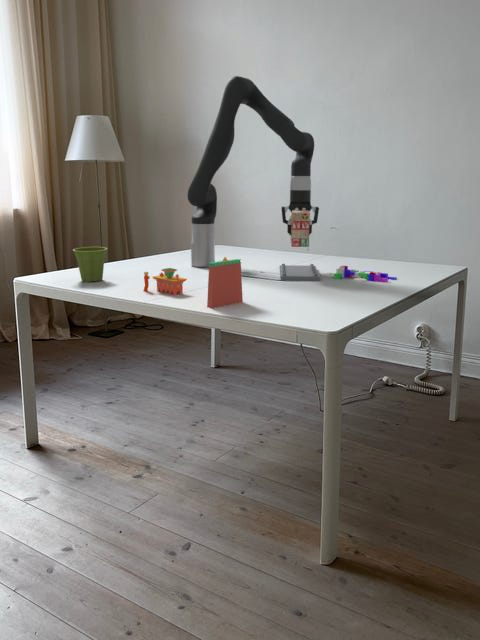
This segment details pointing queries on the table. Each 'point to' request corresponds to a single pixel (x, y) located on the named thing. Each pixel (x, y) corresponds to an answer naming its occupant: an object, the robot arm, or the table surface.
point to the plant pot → (90, 262)
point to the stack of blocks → (300, 228)
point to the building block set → (359, 275)
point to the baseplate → (299, 273)
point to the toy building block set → (220, 282)
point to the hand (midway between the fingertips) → (299, 234)
